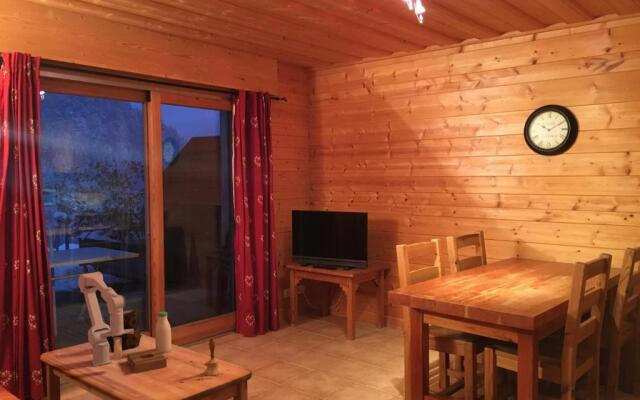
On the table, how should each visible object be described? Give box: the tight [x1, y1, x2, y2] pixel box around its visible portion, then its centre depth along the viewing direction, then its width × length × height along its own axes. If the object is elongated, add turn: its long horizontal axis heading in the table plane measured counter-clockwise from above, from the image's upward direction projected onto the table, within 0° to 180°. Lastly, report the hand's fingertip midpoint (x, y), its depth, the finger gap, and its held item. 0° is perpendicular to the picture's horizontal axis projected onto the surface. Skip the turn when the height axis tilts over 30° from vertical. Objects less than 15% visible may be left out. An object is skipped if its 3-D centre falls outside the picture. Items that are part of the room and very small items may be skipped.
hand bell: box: [203, 337, 223, 377], centre depth 238 cm, size 8×8×16 cm
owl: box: [113, 309, 142, 351], centre depth 275 cm, size 13×13×20 cm
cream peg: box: [112, 337, 123, 360], centre depth 243 cm, size 4×4×9 cm
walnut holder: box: [127, 347, 168, 374], centre depth 250 cm, size 18×14×4 cm
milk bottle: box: [154, 311, 172, 354], centre depth 269 cm, size 8×8×20 cm
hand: (117, 351), depth 243 cm, fingers closed on cream peg, 4 cm apart
